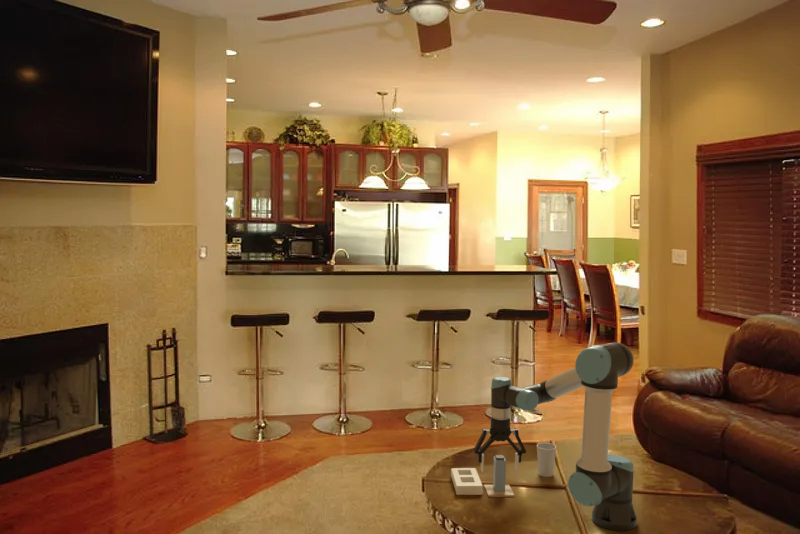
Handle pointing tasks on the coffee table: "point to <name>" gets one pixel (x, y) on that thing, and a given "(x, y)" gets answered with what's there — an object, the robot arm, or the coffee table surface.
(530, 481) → the coffee table surface
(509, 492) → the pad
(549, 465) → the cup
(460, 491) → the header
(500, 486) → the plug
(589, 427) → the robot arm
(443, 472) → the coffee table surface
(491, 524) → the coffee table surface
